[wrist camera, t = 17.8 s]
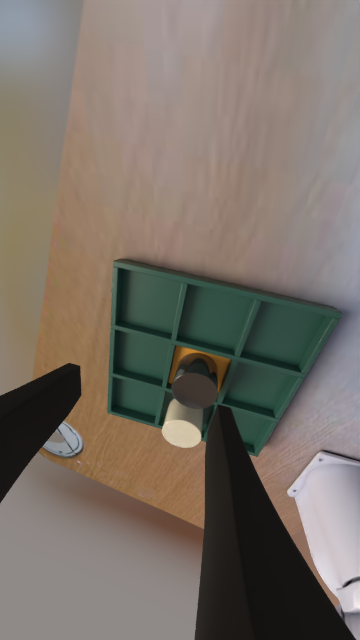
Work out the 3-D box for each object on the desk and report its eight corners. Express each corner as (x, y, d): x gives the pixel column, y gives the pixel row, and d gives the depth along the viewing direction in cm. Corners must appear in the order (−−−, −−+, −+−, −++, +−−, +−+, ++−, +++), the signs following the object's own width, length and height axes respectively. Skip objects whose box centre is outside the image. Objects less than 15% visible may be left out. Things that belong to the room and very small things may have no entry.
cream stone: (198, 426, 24) (196, 452, 22) (166, 416, 25) (159, 441, 22) (207, 402, 23) (205, 427, 20) (171, 392, 23) (165, 415, 20)
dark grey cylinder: (212, 389, 21) (211, 414, 19) (174, 379, 22) (168, 402, 19) (222, 358, 20) (223, 380, 17) (181, 348, 20) (175, 367, 17)
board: (255, 444, 25) (257, 457, 23) (112, 403, 26) (107, 413, 25) (333, 306, 17) (343, 313, 15) (120, 258, 18) (112, 260, 17)
